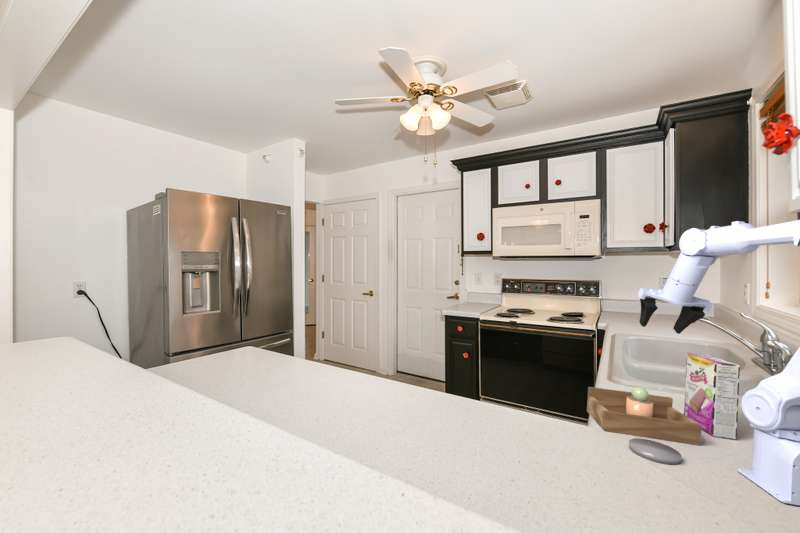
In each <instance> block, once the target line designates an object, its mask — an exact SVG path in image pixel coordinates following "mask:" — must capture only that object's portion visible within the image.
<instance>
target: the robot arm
mask: <svg viewBox="0 0 800 533" xmlns="http://www.w3.org/2000/svg"><path fill="white" fill-rule="evenodd" d="M678 242H679V243H678V246H679V249H680V254H679V255H678V258H677V260H676V261H675V263H674V265H673V267H672V269H671V271H670V273H669V275H668V277H667V280H666V281H665V284H664V286H663V287H662V289H661V288H642V287H640V288H639V290H638V293H637V296H638V298H639V301H640V318H639V324H640V326H641V327H645V328H646V326H647V325H648V323H649V321H650V319H651V317H652V316H653V314H654V313H655V312H656V311H657V310H658V306H657V302H656V301H658V302H662V303H668V304H673V305H676V306H680V307H681V309H680V310H681V311H680V313H679V316H678V318H677V319H676V321H675V323H674V324H673V330H674V331H675V333H676V334H679V335H680V334H681V333H683V331H685V330H686V328H688V327H689V326H691V324H693V323H695V322H697V321H698V320H701V319H703V318H705V315H706V313H705V312H710V310H711V309H712V307H713V303H712V302H711V301H710V300H709V299H704V298H701V297H697V296H694V295H695V294H696V292H697V290H698V288H699V286H700V285H701V282H702V281H703V279H704V277H705V275H706V273H707V272H708V270H709V269H710V266H713V265H714V264H715V263H716V261H717V260H718V259H719V258H721V257H722V256H728V255H740V254H741V255H742V254H751V253H753V252H755V251H756V250H758V249H759V247H760V246H771V245H773V246H775V245H789V244H793V245H794V246H795V247H800V219H796V220H791V221H786V222H780V223H776V224H775V223H774V224H770V225H765V226H759V227H756V226H755V225H753V224H751V223H749V222H748V223H746V222H745V221H742V220H741V221H739V220H736V221H732V222H731V225H725V226H719V225H711V226H710V227H709V228H708V229H700V228H698V227H697V228H696V227H692V228H689V229H687V230H686V231H684V232H683V233H682V235H681V236H680V238H679V241H678ZM704 311H705V312H704ZM740 404H741V410H742V413H743V415H744V416H745V418H746V419H747V421H748V422H749V426H750V427H752V428H753V438H752V439H753V441H752V443H753V444H752V458H751V459H752V460H751V461H752V462H751V463H752V464H751V469H746V468H739V467H738V468H737V471H738V473H740V474H741V475H743V476H744V477H746V478H747V479H749V480H750V481H752V483H754V484H755V485H757V486H758V487H759V488H761V489H763V490H764V491H765V492H767V493H768V494H770V495H771V496H772V497H774V498H775V499H777V500H778V501H779V502H781V503H784V504H789V505H795V506H800V346H798V349H797V350H796V351H795V353H794V354H793V355H792V357H791V358H790V360H789V362H788V363H787V364H786V366H785V367H784V368H783V370H782V371H781V372H780V373H777V374H774V375H772V376H770V377H766V378H765V379H762V380H761V381H760V382H759V384H758V385H757V386H756V387H754V388H752V389H749V390H747V391H746V392H745V393H744V394H743V395H742V398H741V403H740Z"/></svg>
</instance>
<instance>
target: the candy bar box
mask: <svg viewBox="0 0 800 533" xmlns="http://www.w3.org/2000/svg"><path fill="white" fill-rule="evenodd" d="M685 364H686V365H685V367H686V368H685V386H684V387H685V389H684V408H683V414H684V415H685V416H687V417H688V418H690V419H692V420H693V421H695V422H696V423H698V424H700V425H701V426H702V430H701V431H704V432H705V433H707V434H708V435H710V436H712V437H713V438H718V437H721V438H720V439H726V438H730V439H729V440H734V439H737V436H738V418H739V417H738V416H739V414H738V413H739V397H740V396H739V394H740V393H739V392H740V370H741V365H740V364H738V363H735V362H731V361H728V360H726V359H725V360H724V359H721V358H719V357H716V356H713V355H710V354H707V353H705V354H704V353H694V352H686V363H685Z"/></svg>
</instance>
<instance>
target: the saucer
mask: <svg viewBox="0 0 800 533" xmlns="http://www.w3.org/2000/svg"><path fill="white" fill-rule="evenodd" d="M628 441H629V442H628V448H629V450H630V451H631V452H633V453H634V454H635V455H637V456H639V457H641V458H644V459H646V460H649V461H651V462H653V463H654V462H655V463H658V464H662V465H663V464H664V465H667V466H670V465H671V466H675V465H676V466H677V465H680V464H681V463H682V454H681V453H680V452H679V451H678V450H676V449H675V448H674V447H671V446H669V445H667V444H664V443H661V442H659V441H656V440H652V439H645V438H641V437H640V438H639V437H638V438H637V437H636V438H635V437H634V438H630V439H629V440H628Z"/></svg>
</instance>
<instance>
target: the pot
mask: <svg viewBox="0 0 800 533" xmlns="http://www.w3.org/2000/svg"><path fill="white" fill-rule="evenodd" d="M631 392H632V396H628V397H627V400H626V414H632V415H639V416H646V417H653V402H652V401H650V400H648V397H649V395H650V394H649V392H648V391H647V389H645V388H644V387H642V386H636V387H634V388H632V390H631Z"/></svg>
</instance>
